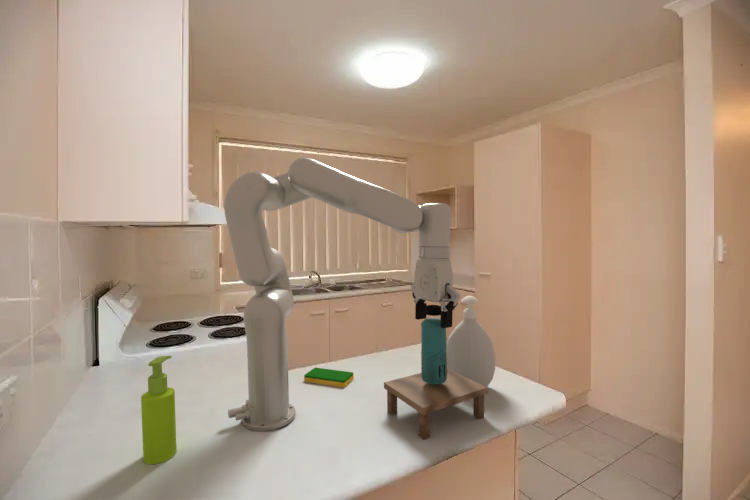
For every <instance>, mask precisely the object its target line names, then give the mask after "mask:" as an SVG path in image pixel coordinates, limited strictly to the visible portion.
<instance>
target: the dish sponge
mask: <svg viewBox="0 0 750 500" xmlns="http://www.w3.org/2000/svg"><path fill="white" fill-rule="evenodd" d="M303 376H304V377H303V380H304V383H311V384H319V385H324V386H325V385H326V386H331V387H332V386H333V387H336V388H337V387H339V388H345V387H347V385H349V384H350V383H351V382H352V381H353V380H354V378H355V377H354V372H353V371H345V370H337V369H331V368H322V367H321V368H320V367H314V368H312V369H311V370H310V371H308V372H307V373H305V374H303Z"/></svg>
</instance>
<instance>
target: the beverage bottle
mask: <svg viewBox="0 0 750 500" xmlns="http://www.w3.org/2000/svg"><path fill="white" fill-rule="evenodd" d="M441 311H443V310H442V307H441V305H440V304H427V306H426V308H425V314H426V316H429V317H426V318H425V319H424V320H422V321H421V323H420V327H421V329H420V330H421V333H420V334H421V339H420V340H421V345H420V346H421V349H420V350H421V352H420V364H421V365H420V368H421V373H422V375H421V376H422V380H423V381H424V382H426V383H430V384H442V383H444V382H445V381H446V379H447V352H446V346H447V341H448V337H447V328H441V327H440V321H441V317H439V316H441ZM430 316H431V317H430ZM436 316H438V317H436Z"/></svg>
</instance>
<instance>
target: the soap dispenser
mask: <svg viewBox="0 0 750 500" xmlns="http://www.w3.org/2000/svg"><path fill="white" fill-rule="evenodd" d="M171 358H172V355H159V356H157V357H155V358H154V359H152V360H151V361H150V362H148V364H147V365H148V367H151V368H152V374H151V375H149V376H148V377H147V388H148V389H147V390H148V391H146V392H144V393H142V394H141V397H140V405H141V426H142V427H141V429H142V454H143V458H142V459H143V462H144V463H145V464H147V465H157V464H162V463H164V462H167V461H169V460H170V459H172V458H173V457H175V455H176V454H177V429H176V427H177V423H176V421H177V420H176V398H175V397H176V395H175V393H176V391H175V389H174V388H173V387H169V386H168V375H167V374H166V373H164V372H163V363H164V362H165V361H167V360H170V359H171Z"/></svg>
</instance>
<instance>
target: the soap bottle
mask: <svg viewBox="0 0 750 500" xmlns="http://www.w3.org/2000/svg"><path fill="white" fill-rule="evenodd" d="M461 303H462V304H467V308H464V310H463V311H462V313H463V314H462V316H463V318H462V320H461V321H460V322H459V323H458V324H457V325H456V326H455V328H454V329H453V330H452V332H451V333H450V335H449V336H448V337H447V341H446V344H447V346H446V352H447V369H449V370H451V371H453V372H456V373H458V374H460V375H462V376H464V377H466V378H468V379H471V380H473V381H475V382H477V383H479V384H481V385H484V386H486V387H488V386H489V385H490V384H491V382H492V380H493V379H494V375H495V371H496V353H495V348H494V344H493V340H492V338H491V337H490V336H489V334H488V333H487V331H486V329H485V328H484V327H483V326H482V325H481V323H480V322H479V321H478V320H477V310H476V309H475V308H473V304H478V303H479V300H478V299H477V297H475V296H473V295H466V296H464V297H463V298H461Z"/></svg>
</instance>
